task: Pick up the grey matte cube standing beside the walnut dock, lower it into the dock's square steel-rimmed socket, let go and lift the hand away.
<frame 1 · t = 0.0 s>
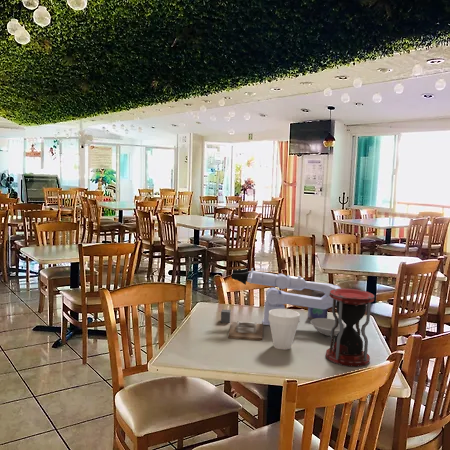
hand: (232, 274, 219), 22 cm above the table, tool horizontal, fingers open, 7 cm apart
grey matte cube: (225, 321, 220), on the table
dish: (327, 335, 206), on the table
cup: (282, 347, 190), on the table
hourglass: (347, 359, 180), on the table
dock: (246, 331, 206), on the table
flask: (317, 319, 230), on the table
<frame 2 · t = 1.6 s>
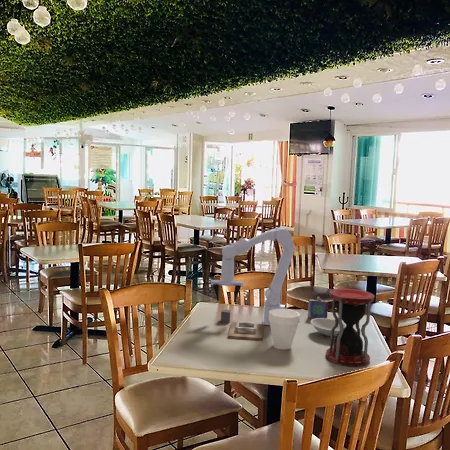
hand: (226, 301, 219), 9 cm above the table, tool pointing down, fingers open, 7 cm apart
nothing on the table moved.
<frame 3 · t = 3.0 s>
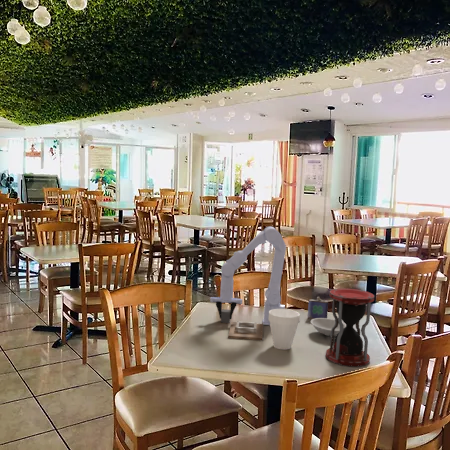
hand: (225, 318, 220), 1 cm above the table, tool pointing down, fingers closed on grey matte cube, 4 cm apart
grey matte cube: (225, 321, 220), on the table, touching gripper
everything else where it was.
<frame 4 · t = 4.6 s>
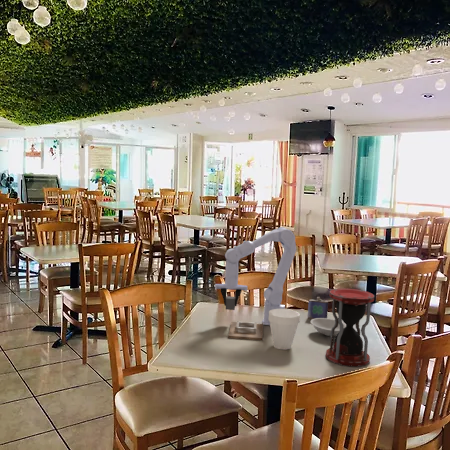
hand: (230, 305, 216), 8 cm above the table, tool pointing down, fingers closed on grey matte cube, 4 cm apart
grey matte cube: (230, 308, 216), point 7 cm above the table, touching gripper
everything else where it was.
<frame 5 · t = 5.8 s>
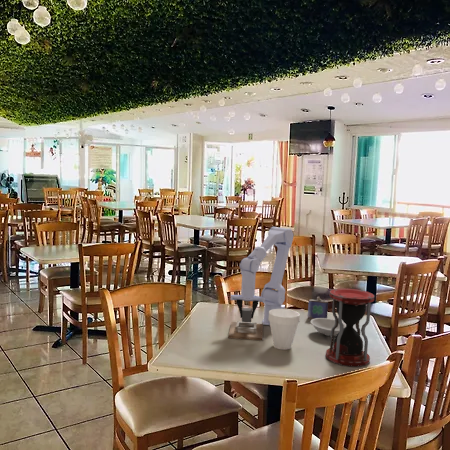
hand: (246, 317, 205), 6 cm above the table, tool pointing down, fingers closed on grey matte cube, 4 cm apart
grey matte cube: (246, 320, 206), point 5 cm above the table, touching gripper
everything else where it was.
when the fingers open (4 cm above the table, at t = 6.6 s): grey matte cube drops 1 cm, resting on dock.
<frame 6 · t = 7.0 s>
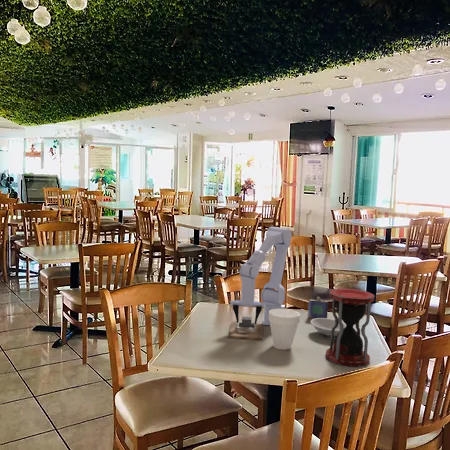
hand: (246, 323, 206), 4 cm above the table, tool pointing down, fingers open, 7 cm apart
grey matte cube: (246, 329, 206), point 1 cm above the table, touching dock
everything else where it was.
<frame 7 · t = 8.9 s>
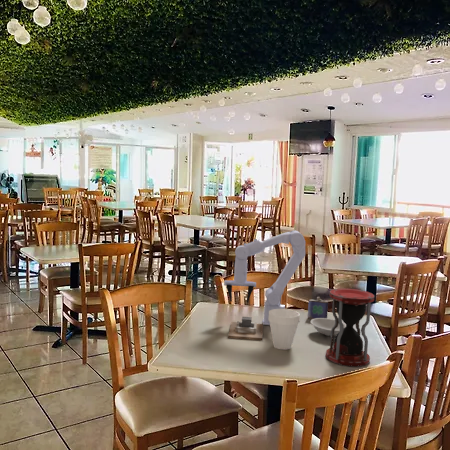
hand: (239, 301, 219), 9 cm above the table, tool pointing down, fingers open, 7 cm apart
nothing on the table moved.
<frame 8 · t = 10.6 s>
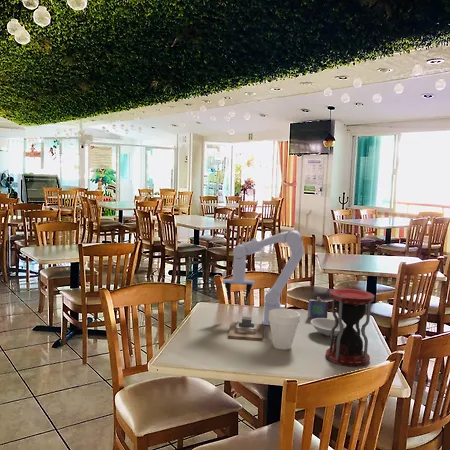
hand: (237, 299, 222), 9 cm above the table, tool pointing down, fingers open, 7 cm apart
nothing on the table moved.
at the end: grey matte cube 0.1 cm off-centre on the dock, point 1.0 cm above the dock's base; grey matte cube tilted 0°; the gripper is holding nothing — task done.
